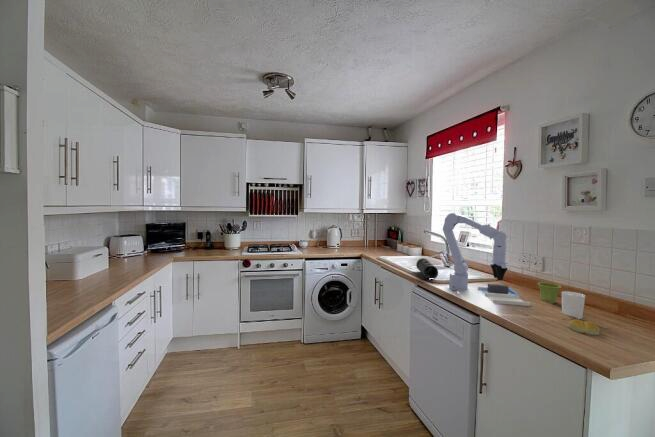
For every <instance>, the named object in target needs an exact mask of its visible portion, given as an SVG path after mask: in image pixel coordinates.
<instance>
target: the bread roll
mask: <svg viewBox="0 0 655 437" xmlns="http://www.w3.org/2000/svg"><path fill="white" fill-rule="evenodd" d="M568 327H569V329H571V330H573V331H574V332H577V333H579V334H580V333H581V334H586V335H588V336H599V335H600V327H599V326H598V324H596V323H594V322H593V321H589V320H588V321H583V320H582V319H577V318H574V319H572V320H570V321H569V322H568Z"/></svg>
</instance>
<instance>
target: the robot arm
mask: <svg viewBox="0 0 655 437" xmlns="http://www.w3.org/2000/svg"><path fill="white" fill-rule="evenodd" d="M443 223H444V224H443V227H442V232H443V235H444V237H445V240H446V242H447V245H448V248H449V250H450V253H451V256H452V259H453V264H454V265H453V267H454V268H453V269H454V273H450V274H449V286H448V287H449V288H450V290H451V291H458V290H463V291H464V290H468V284H469V283H468V282H469V273H468V272H467V271H468V270H469V267H470V266H469V264H468V262H466V260H465V258H464V257H463V255H462V253H461V250H460V247H459V244H458V241H457V239H456V236H455V233H454V229H455V227H456V226H457V225H458V224H465V225H467V226H469V227H472V228H474V229H476V230H478V231H479V234H481V235H483V236H485V237H487V238H489V239H493V248H492V250H493V252H492V260H491V263H492V264H490V267H491V269H492V275H493V278H495V279H497V281H503V280H504V277H505V274H506V272H507V271H508V267H507V265H508V262H506V252H507V251H506V250H507V246H506V244H507V242H506V240H507V234H506V233H505V232H504V231H502V230H500V229H499V228H495V227H493V226H491V224H489V223H488V224H487V223H484V224H481V223H479V222H477V221H475V220H474V219H472V218H469V217H467V216H466V215H463V214H459V213H458V212H451V213H448V214H447V215H446V216H445V217H444V222H443Z"/></svg>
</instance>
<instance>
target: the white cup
mask: <svg viewBox="0 0 655 437" xmlns="http://www.w3.org/2000/svg"><path fill="white" fill-rule="evenodd" d="M585 299H586V295H585V294H583V293H580V292H574V291H561V313H562V314H563V315H565V316H568V317H569V316H570V317H573V318H575V319H577V320H582V319H583V316H584V315H583V314H584V313H583V312H584V309H585V308H584V307H585Z"/></svg>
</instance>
